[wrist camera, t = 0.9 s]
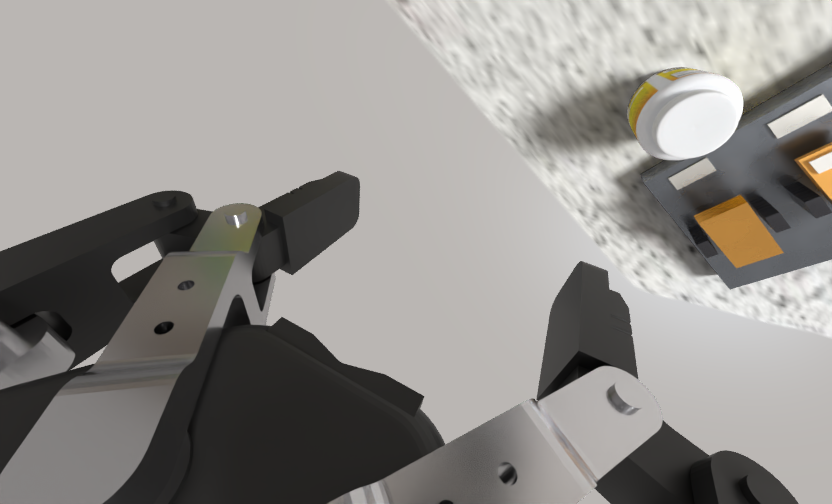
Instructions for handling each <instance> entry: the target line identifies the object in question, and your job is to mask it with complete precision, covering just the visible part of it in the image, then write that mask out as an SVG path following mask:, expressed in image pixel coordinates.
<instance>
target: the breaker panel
mask: <svg viewBox="0 0 832 504" xmlns="http://www.w3.org/2000/svg"><path fill="white" fill-rule="evenodd" d="M831 142H832V63H830V64H829V65H827V66H825V67H824V68H822V69H820V70H818V71H817V72H815V73H813V74H812V75H810V76H808V77H806V78H805V79H803V80H801V81H800V82H798V83H796V84H794V85H793V86H791V87H789V88H788V89H786V90H784V91H782V92H781V93H779V94H777V95H776V96H774V97H772V98H770V99H769V100H767V101H765V102H764V103H762V104H760V105H758V106H757V107H755V108H753V109H752V110H750V111H748V112H746V113H745V114H743V115H741V118H740V120H739V122H738V125H737V128H736V130H735V131H734V133H733V134H732V136H731V137H730V138H729V139H728V140H727V141H726V142H725V143H724V144H723V145H722V146H720V147H719V148H717V149H716V150H714V151H712V152H710V153H708V154H706V155H703V156H700V157H696V158H689V159H684V160H664V161H662V162H661V163H659V164H657V165H656V166H654V167H652V168H650V169H649V170H647V171H645V172H644V173H642V174H640V175H641V177H642V180H643V182H644V184H645V185H646V186H647V188H648V189H649V190H650V191H651V193H652V194H653V195H654V196H655V198H656V199H657V200H658V201H659V202H660V204H661V205H662V206H663V207H664V209H665V210H666V211H667V212H668V214H669V215H670V216H671V217H672V218H673V220H674V221H675V222H676V223H677V225H678V226H679V227H680V228H681V230H682V231H683V232H684V233H685V235H686V236H687V237H688V238H689V239H690V241H691V242H692V243H693V244H694V246H695V247H696V248H697V249H698V251H699V252H700V253H701V254H702V256H703V257H704V258H705V259H706V260H707V262H708V263H709V264H710V265H711V267H712V268H713V269H714V270H715V272H716V273H717V274H718V275H719V277H720V278H721V279H722V280H723V281H724V283H725V284H726V285H727V286H728V288H729V289H733V288H736V287H740V286H743V285H746V284H750V283H753V282H756V281H760V280H763V279H767V278H770V277H773V276H777V275H780V274H784V273H787V272H790V271H794V270H797V269H801V268H804V267H807V266H811V265H814V264H817V263H821V262H824V261H828V260H831V259H832V205H831V203H830V202H829V201H828V200H827V199H826V198H825V196H824V195H823V194H822V193H821V192H820V190H819V189H818V188H817V187H816V186H815V184H814V183H813V182H812V181H811V180H810V178H809V177H808V176H807V175H806V174H805V172H804V171H803V170H802V169H801V168H800V166H799V165H798V164H797V163H796V162H795V161H794V159H796V158H799V157H801V156H803V155H805V154H807V153H809V152H811V151H814V150H816V149H818V148H820V147H822V146H824V145H826V144H829V143H831Z"/></svg>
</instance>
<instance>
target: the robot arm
mask: <svg viewBox="0 0 832 504" xmlns="http://www.w3.org/2000/svg"><path fill="white" fill-rule="evenodd" d="M359 196H360V182H359V179H358V178H357V177H355V176H352V175H349V174H347V173H344V172H341V171H337V172H335V173H333V174H331V175H329V176H327V177H325V178H323V179H320V180H315V181H311V182H308V183H306V184H304V185H302V186H300V187H299V189H298V188H296V189H294V190H292V191H291V192H290V193H286V194H284V195H282V196H280V197H278V198H276V199H274V200H272V201H270V202H268V203H266V204H264V205H262V206H260V207H256V206H254V205H251V204H244V203H239V204H238V203H237V204H229V205H226V206H223V207H220V208H218V209H216V210H215V211H213V212H211V211H206V210H200V209H196V206H195V203H194V201H193V198H192V196H191V195H190V194H188V193H186V192H182V191H162V192H157V193H153V194H150V195H147V196H145V197H142V198H139V199H137V200H134V201H131V202H129V203H126V204H124V205H121V206H118V207H116V208H113V209H110V210H108V211H105V212H103V213H100V214H97V215H95V216H92V217H90V218H87V219H84V220H82V221H79V222H76V223H74V224H72V225H69V226H66V227H63V228H61V229H58V230H55V231H53V232H50V233H47V234H45V235H42V236H40V237H37V238H34V239H32V240H29V241H27V242H24V243H21V244H19V245H16V246H13V247H11V248H8V249H6V250H3V251H0V504H577V503H578V502H579V501H580V500H581V499H582V498H584V497H585V496H586V495H587V494H589V493H590V492H591V491H592V490H593V489H594V488H595V489H596V490H597V491H598V492H599V493H600V494H601V495H602V496H603V497H604V498H605V499H606V500H607V501H609V502H610V503H611V504H798V502H797V501H796V500H795V498H794V497H793V496H792V495H791V493H790V492H789V491H788V490H787V489H786V488H785V487H784V486H783V484H782V483H781V482H780V481H779V480H778V479H776V478H775V477H774V476H773V475H772V474H771V473H770V472H768V471H767V470H766V469H765V468H763V467H762V466H760V465H759V464H757V463H756V462H755V461H753V460H751V459H749V458H748V457H746V456H743V455H741V454H739V453H736V452H732V451H720V452H717V453H715V454H713V455H710V456H709V455H708V454H706V453H705V452H703V451H702V450H701V449H699V448H698V447H697V446H695V445H694V444H692V443H691V442H690V441H689V440H687V439H686V438H684V437H683V436H682V435H680V434H679V433H678V432H676V431H675V430H674V429H672V428H671V427H670V426H669V425H667V424H666V423H665V422H664V421H663V417H662V412H661V409H660V406H659V404H658V402H657V401H656V399H655V397H654V396H653V394H652V393H651V392H650V391H649V389H648V388H646V386H645V385H644V384H643V383H641V382H640V381H639V380H638V374H637V367H636V359H635V352H634V344H633V338H632V336H631V335H632V329H631V325H630V314H629V308H628V306H627V305H626V303H625V301H624V300H623V298H622V297H621V295H620V294H619V293H618V292H615V291H612V290H609V281H608V271H606V270H604V269H601V268H599V267H596V266H593V265H591V264H588V263H585V262H582V261H580V262H579V263H578V264H577V266H576V267H575V268H574V270H573V272H572V273H571V275H570V276H569V278H568V279H567V281H566V282H565V284H564V286H563V287H562V289H561V290H560V292H559V293H558V295H557V297H556V298H555V301H554V303H553V305H552V308H551V312H550V317H549V324H548V330H547V336H546V343H545V349H544V356H543V362H542V368H541V375H540V381H539V388H538V394H537V400H538V401H537V402H536V401H535V399H529V400H527V401H525V402H522V403H521V404H519V405H517V406H515V407H513V408H512V409H510V410H508V411H506V412H504V413H503V414H500V415H499V416H497V417H495V418H493V419H491V420H490V421H488V422H486V423H484V424H482V425H481V426H479V427H477V428H475V429H473V430H472V431H470V432H468V433H466V434H464V435H462V436H460V437H459V438H457V439H455V440H453V441H451V442H450V443H448V444H446V445H445V443H444V441H443V439H442V437H441V435H440V434H439V432H438V430H437V429H436V427H435V426H434V424H433V423H432V422H431V420H430V419H429V418H428V417H427V416H426V415H425V413H424V412H423V411H422V410H420V407H421V404H422V401H423V398H424V396H423V395H421V394H419V393H417V392H415V391H414V390H412V389H410V388H408V387H406V386H405V385H403V384H401V383H399V382H397V381H396V380H394V379H392V378H390V377H389V376H387V375H385V374H381V373H377V372H373V371H370V370H366V369H362V368H358V367H354V366H350V365H347V364H343V363H341V362H340V361H338V360H337V359H336V358H335V357H334V355H333V354H332V353H331V352H330V351H328V349H327V348H326V347H325V346H324V345H323V344H322V343H321V342H320V341H319V340H318V339H317V338H316V337H315V336H314V335H313V334H312V333H310V332H308V331H306V330H304V329H303V328H301V327H299V326H297V325H295V324H294V323H292V322H290V321H288V320H286V319H285V318H283V317H281V318H280V319H279V320H278V321H277V322H276V323H275V324H274V325H272V326H266V320H267V315H268V310H269V306H270V301H271V296H272V292H273V288H274V283H275V273H274V272H275V271H277V270H278V269H281V270H283V271H285V272H287V273H289V274H291V275H293V274H294V273H296V272H297V271H298V270H299V269H301V268H302V267H303V266H304V265H306V264H307V263H308V262H309V261H311V260H312V259H313V258H315V257H316V256H317V255H319V254H320V253H321V252H322V251H324V250H325V249H326V248H328V247H329V246H330V245H331V244H333V243H334V242H335V241H337V240H338V239H339V238H340V237H342V236H343V235H344V234H345V233H347V232H348V231H349V230H351V229H352V228H353V227H354V225H355V224H356V222H357V220H358V217H359V198H360V197H359ZM152 241H154V242H155V244H156V247H157V248H158V250H159V252H160V254H161V256H162V259H161V260H159V261H157V262H155V263H153V264H151V265H150V266H148V267H146V268H144V269H142V270H141V271H139V272H137V273H135V274H133V275H132V276H130V277H128V278H126V279H124V280H122V281H121V282H119V283H118V282H117V281H116V279H115V278H114V276H113V275H112V273H111V268H112V265H113V263H114V262H115V261H116V260H117V259H119V258H120V257H122V256H124V255H126V254H128V253H130V252H132V251H134V250H136V249H138V248H140V247H142V246H144V245H146V244H148V243H150V242H152ZM106 345H107V347H106V348H105V350H104V351H103V353H102V354H101V356H100V357H99V359H98V360H97V362H96V363H95V364H92V365H88V366H84V367H81V368H77V369H73V370H71V369H72V368H74V367H75V366H76V365H78V364H79V363H81V362H82V361H84V360H86V359H87V358H88V357H90V356H91V355H93V354H94V353H96V352H97V351H99V350H100V349H102V348H103V347H105V346H106Z"/></svg>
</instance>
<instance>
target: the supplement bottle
mask: <svg viewBox="0 0 832 504" xmlns="http://www.w3.org/2000/svg"><path fill="white" fill-rule="evenodd" d="M742 111H743V96H742V93H741V91H740V89H739V88H738V86H737V85H736V84H735V83H734V82H733V81H731V80H730V79H728V78H726V77H724V76H722V75H718V74H714V73H710V72H705V71H700V70H696V69H691V68H684V67H678V68H671V69H667V70H664V71H661V72H659V73H657V74H655V75H653V76H651V77H650V78H649V79H647V80H646V81H645V82H643V83H642V84H641V85H640V86H639V87H638V89H637V90H636V91H635V92H634V94H633V96H632V97H631V99H630V102H629V104H628V109H627V118H628V122H629V125H630V127H631V128H632V130H633V132H634V134H635V136H636V138H637V140H638V142H639V144H640V145H641V147H642V148H643V149H644V150H645V151H646V152H647V153H649V154H650V155H652V156H654V157H656V158H659V159H664V160H684V159H689V158H696V157H700V156H703V155H706V154H708V153H710V152H712V151H714V150H716V149H717V148H719V147H720V146H722V145H723V144H724V143H725V142H726V141H727V140H728V139H729V138H730V137H731V136H732V134H733V133H734V131H735V130H736V128H737V125H738V122H739V120H740V118H741V115H742Z"/></svg>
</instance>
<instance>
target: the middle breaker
mask: <svg viewBox="0 0 832 504" xmlns="http://www.w3.org/2000/svg"><path fill="white" fill-rule="evenodd" d="M794 161H795V162H796V163H797V164H798V165H799V166H800V168H801V169H802V170H803V171H804V172H805V174H806V175H807V176H808V177H809V178H810V180H811V181H812V182H813V183H814V184H815V186H816V187H817V188H818V189H819V190H820V192H821V193H822V194H823V195H824V196H825V198H826V199H827V200H828V201H829V202H830V203H831V205H832V142H831V143H829V144H826V145H824V146H822V147H820V148H818V149H816V150H814V151H811V152H809V153H807V154H805V155H803V156H801V157H799V158H796V159H794Z"/></svg>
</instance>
